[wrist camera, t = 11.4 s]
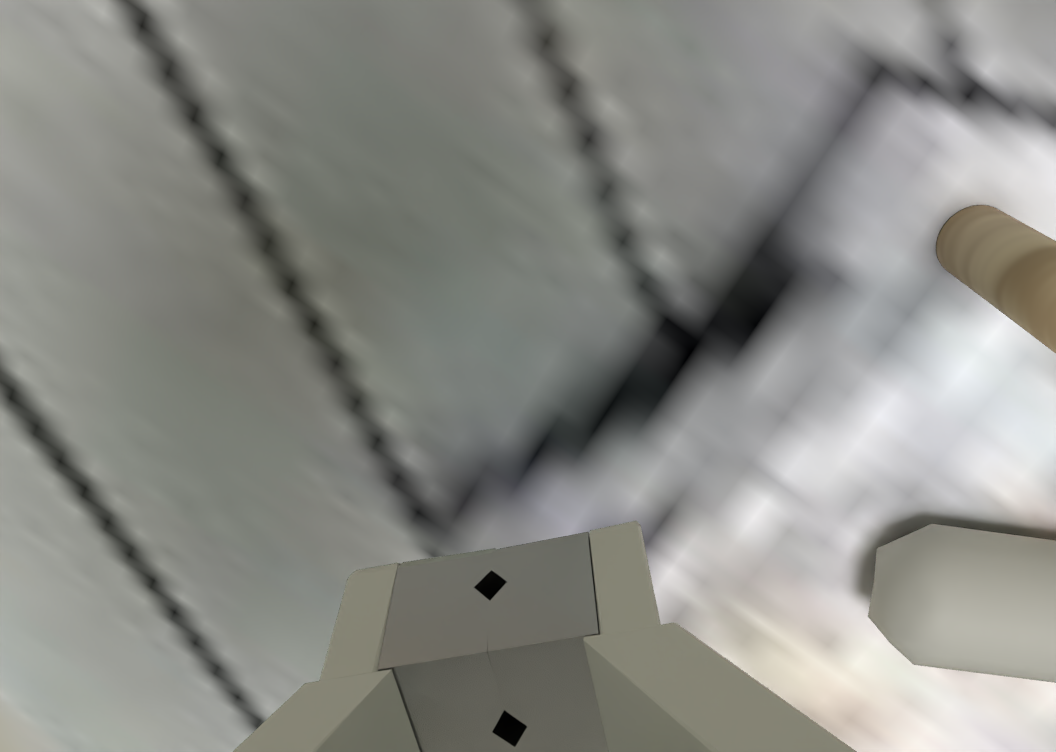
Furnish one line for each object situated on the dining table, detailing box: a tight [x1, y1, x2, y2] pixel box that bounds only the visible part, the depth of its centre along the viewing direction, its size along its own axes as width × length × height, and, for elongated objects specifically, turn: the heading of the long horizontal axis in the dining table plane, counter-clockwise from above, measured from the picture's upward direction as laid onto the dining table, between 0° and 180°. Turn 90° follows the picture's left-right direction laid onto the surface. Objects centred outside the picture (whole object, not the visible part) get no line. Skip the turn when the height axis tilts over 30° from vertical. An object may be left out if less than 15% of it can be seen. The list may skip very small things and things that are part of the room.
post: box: [936, 205, 1056, 353], centre depth 26 cm, size 2×2×9 cm
